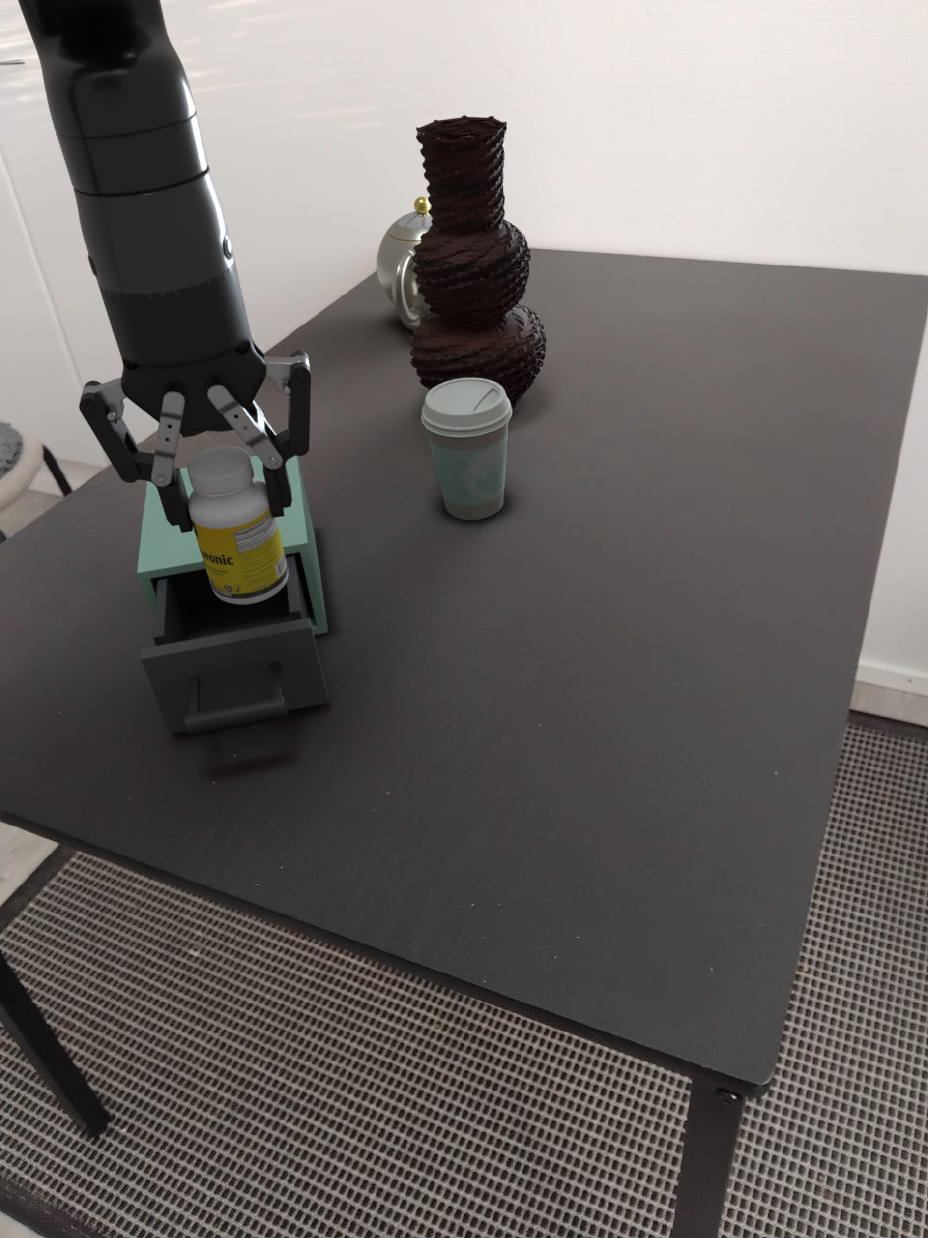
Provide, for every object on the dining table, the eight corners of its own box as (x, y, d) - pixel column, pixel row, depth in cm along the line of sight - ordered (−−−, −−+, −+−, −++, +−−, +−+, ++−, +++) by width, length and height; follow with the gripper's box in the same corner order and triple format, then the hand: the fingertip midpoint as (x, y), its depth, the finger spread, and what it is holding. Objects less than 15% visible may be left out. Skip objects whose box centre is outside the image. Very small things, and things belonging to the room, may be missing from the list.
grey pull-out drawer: (335, 751, 73) (316, 675, 68) (166, 785, 71) (135, 709, 66) (315, 592, 88) (298, 520, 83) (175, 618, 86) (150, 546, 82)
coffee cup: (462, 539, 94) (451, 427, 86) (416, 501, 99) (402, 394, 92) (534, 507, 97) (529, 396, 89) (485, 472, 103) (477, 366, 95)
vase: (416, 445, 108) (379, 155, 89) (416, 382, 120) (384, 115, 101) (554, 432, 108) (547, 139, 89) (541, 371, 120) (532, 100, 101)
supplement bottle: (198, 583, 69) (160, 461, 62) (265, 550, 71) (235, 430, 65) (235, 618, 65) (200, 493, 59) (304, 583, 68) (277, 459, 61)
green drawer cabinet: (328, 632, 85) (307, 542, 78) (169, 662, 83) (136, 572, 77) (314, 533, 97) (296, 448, 90) (175, 558, 95) (147, 473, 89)
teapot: (409, 296, 141) (395, 177, 131) (498, 302, 137) (491, 179, 127) (356, 350, 129) (336, 223, 118) (452, 358, 124) (440, 227, 114)
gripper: (291, 224, 57) (336, 473, 68) (42, 257, 56) (128, 505, 67) (297, 267, 52) (346, 532, 62) (19, 305, 50) (117, 569, 61)
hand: (233, 517), depth 65 cm, fingers closed on supplement bottle, 5 cm apart
